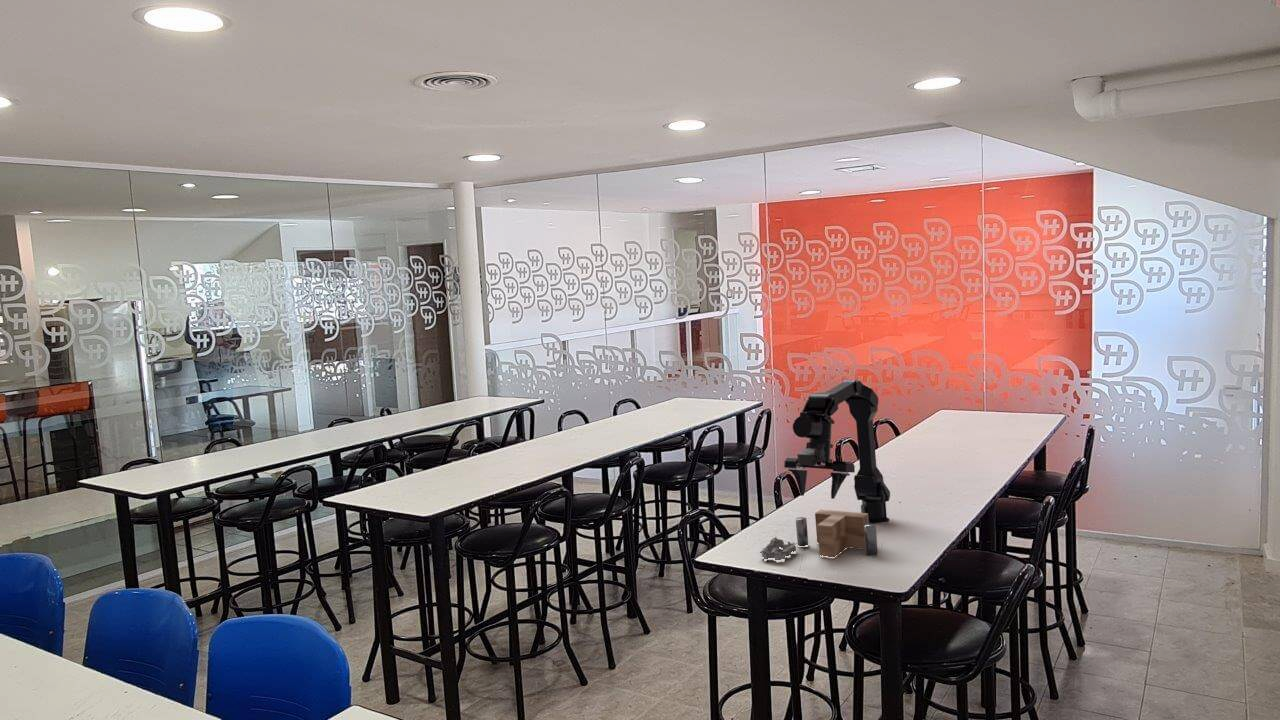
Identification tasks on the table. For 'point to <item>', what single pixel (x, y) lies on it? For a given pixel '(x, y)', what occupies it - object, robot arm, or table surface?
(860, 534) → the walnut T block
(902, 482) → the table surface
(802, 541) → the goal posts
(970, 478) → the table surface
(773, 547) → the grey jagged rock
